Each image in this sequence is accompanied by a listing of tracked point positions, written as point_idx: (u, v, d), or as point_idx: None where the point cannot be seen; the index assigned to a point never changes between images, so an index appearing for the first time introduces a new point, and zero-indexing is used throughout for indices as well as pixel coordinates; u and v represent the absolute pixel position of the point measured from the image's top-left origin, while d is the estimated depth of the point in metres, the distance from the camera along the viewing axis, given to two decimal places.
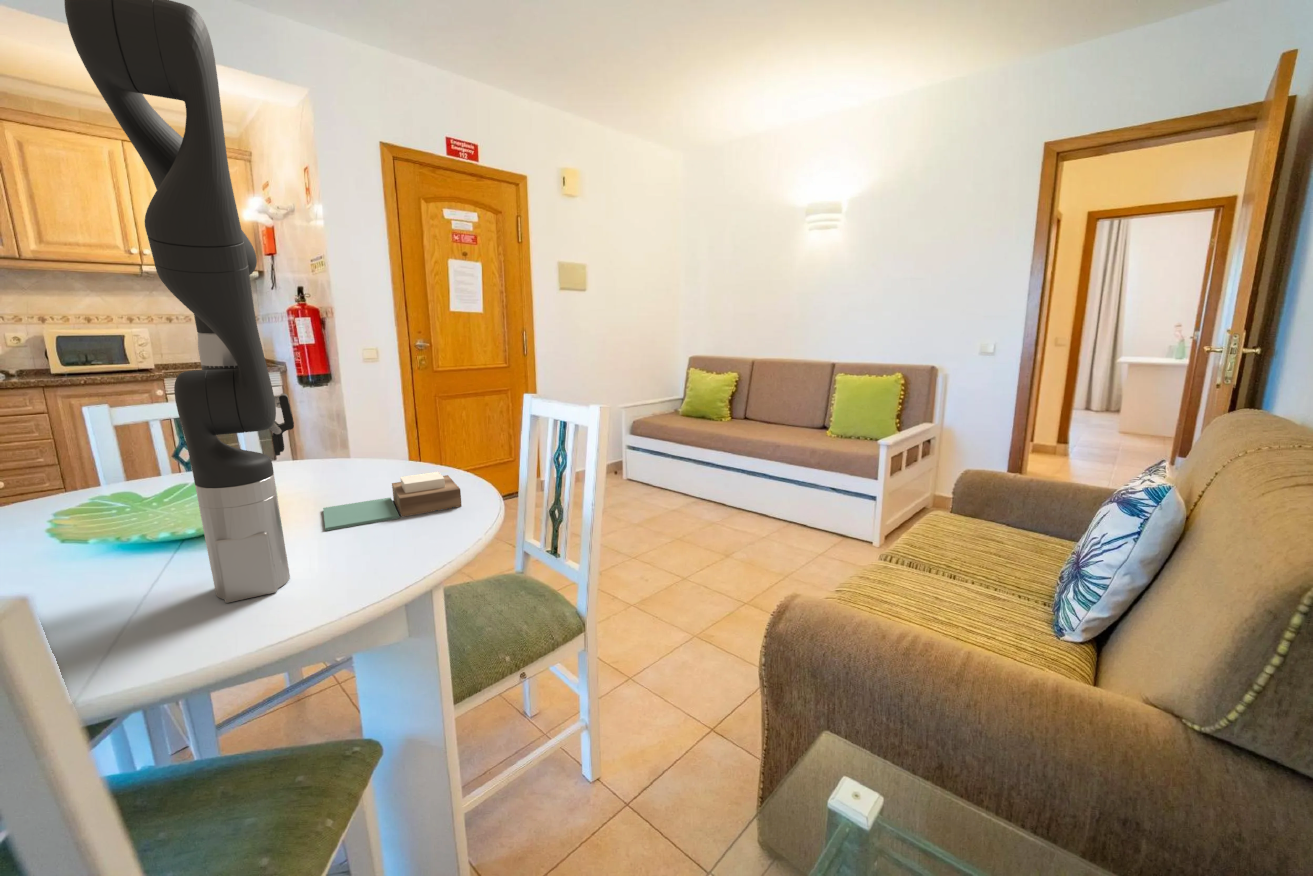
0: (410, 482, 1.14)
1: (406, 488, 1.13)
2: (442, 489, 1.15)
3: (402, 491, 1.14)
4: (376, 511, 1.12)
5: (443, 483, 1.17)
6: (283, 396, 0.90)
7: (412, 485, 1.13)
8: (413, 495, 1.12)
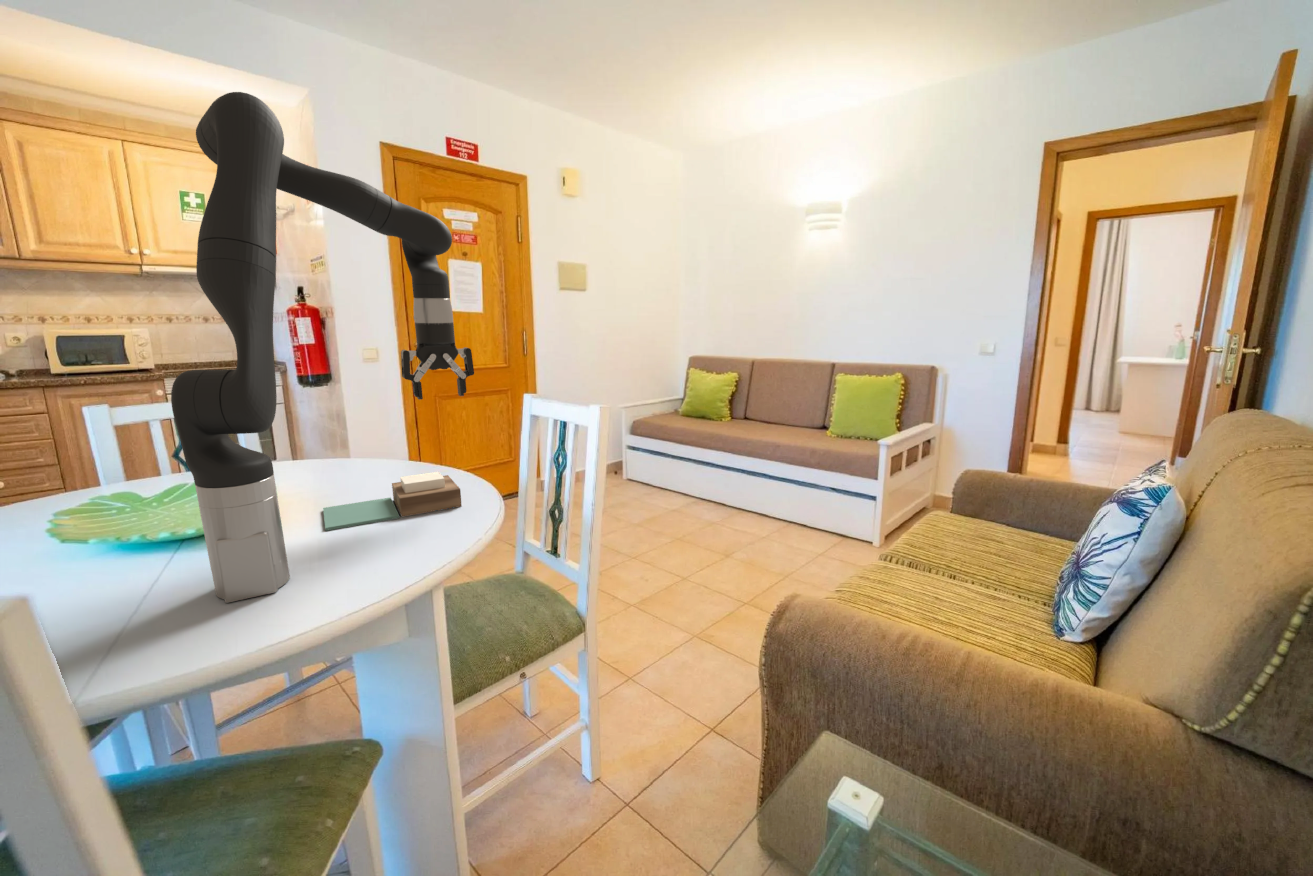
0: (410, 482, 1.14)
1: (406, 488, 1.13)
2: (442, 489, 1.15)
3: (402, 491, 1.14)
4: (376, 511, 1.12)
5: (443, 483, 1.17)
6: (468, 348, 1.16)
7: (412, 485, 1.13)
8: (413, 495, 1.12)
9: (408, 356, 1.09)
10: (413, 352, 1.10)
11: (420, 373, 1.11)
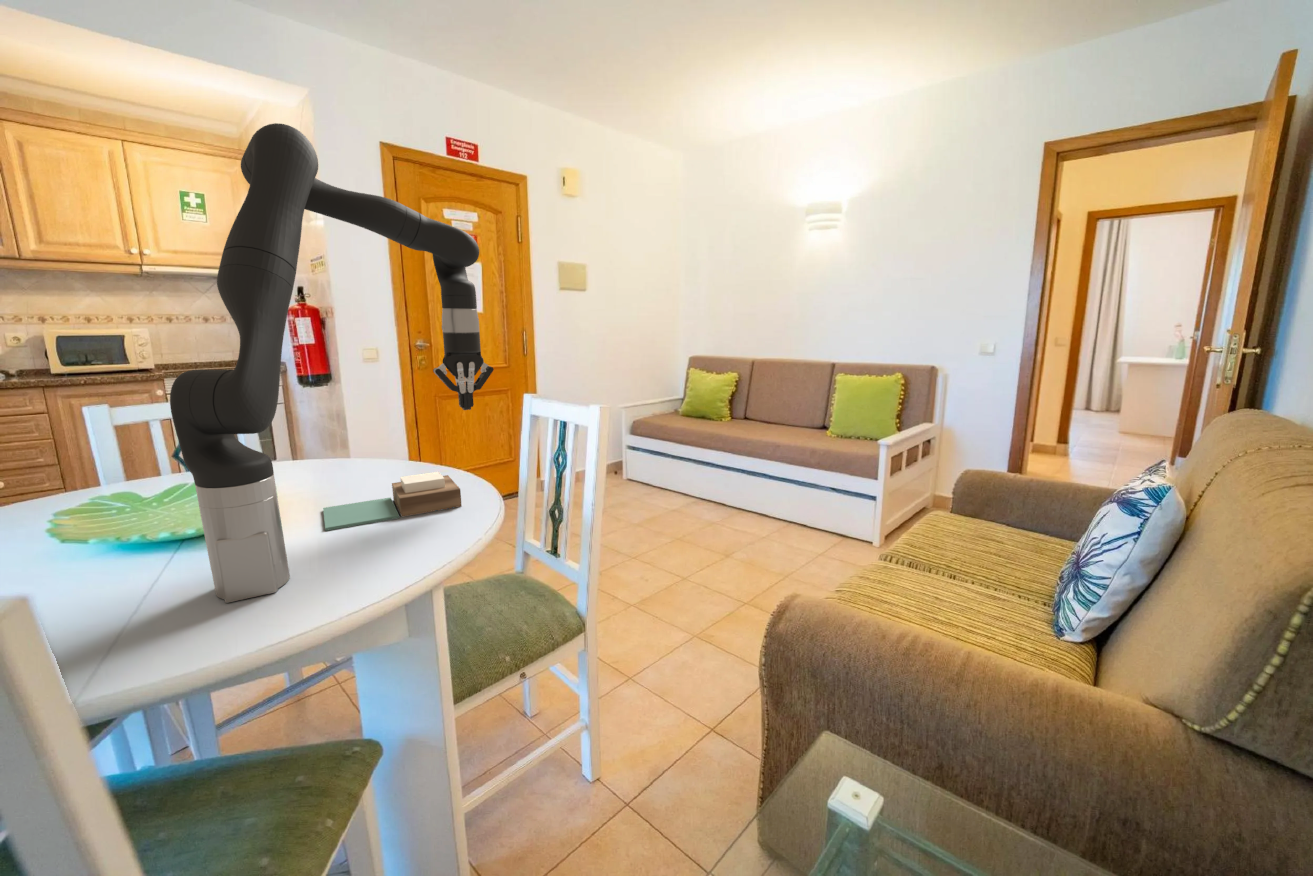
0: (410, 482, 1.14)
1: (406, 488, 1.13)
2: (442, 489, 1.15)
3: (402, 491, 1.14)
4: (376, 511, 1.12)
5: (443, 483, 1.17)
6: (492, 368, 1.19)
7: (412, 485, 1.13)
8: (413, 495, 1.12)
9: (441, 372, 1.14)
10: (442, 366, 1.14)
11: (461, 384, 1.17)
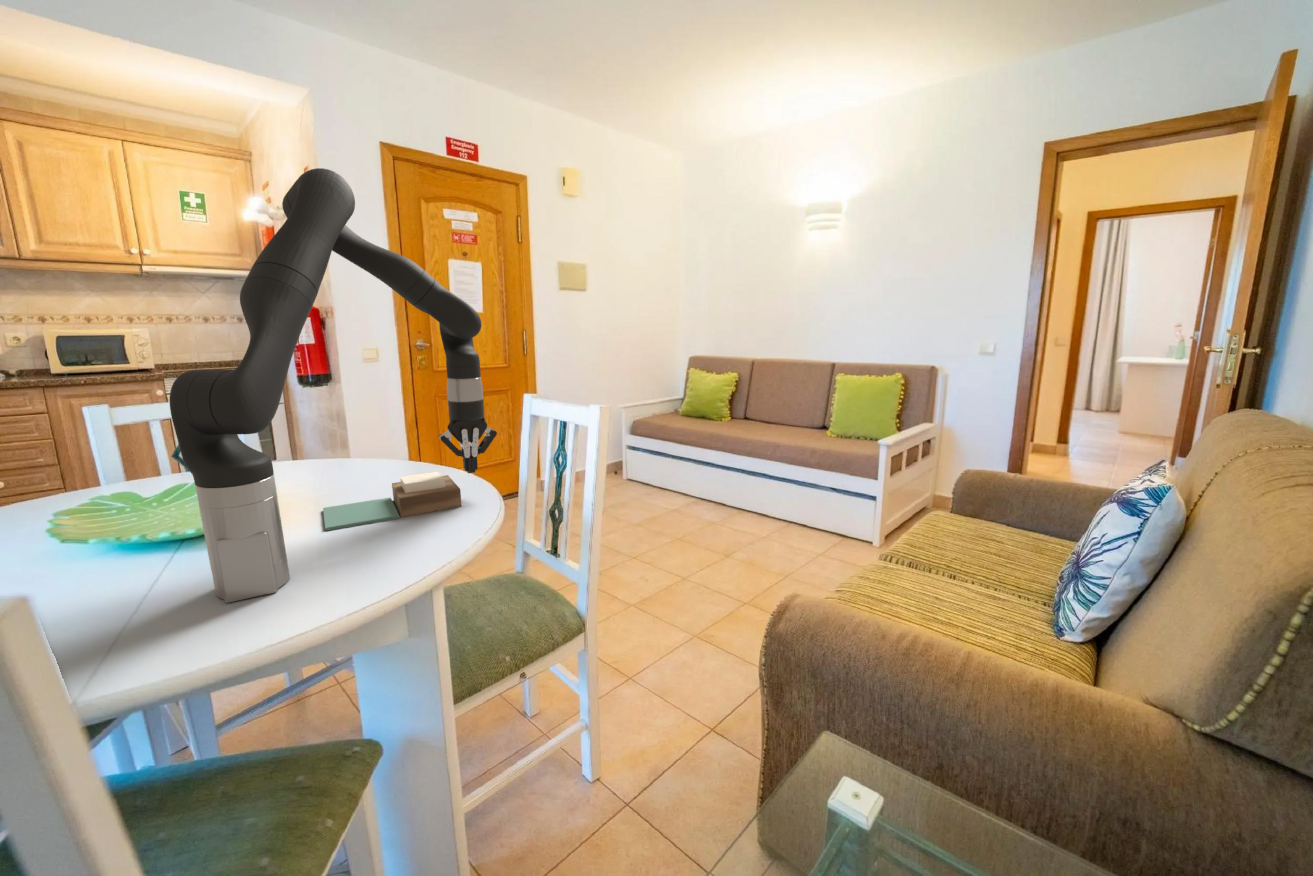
0: (410, 482, 1.14)
1: (406, 488, 1.13)
2: (442, 489, 1.15)
3: (402, 491, 1.14)
4: (376, 511, 1.12)
5: (443, 483, 1.17)
6: (495, 432, 1.23)
7: (412, 485, 1.13)
8: (413, 495, 1.12)
9: (447, 439, 1.17)
10: (447, 433, 1.18)
11: (466, 449, 1.20)
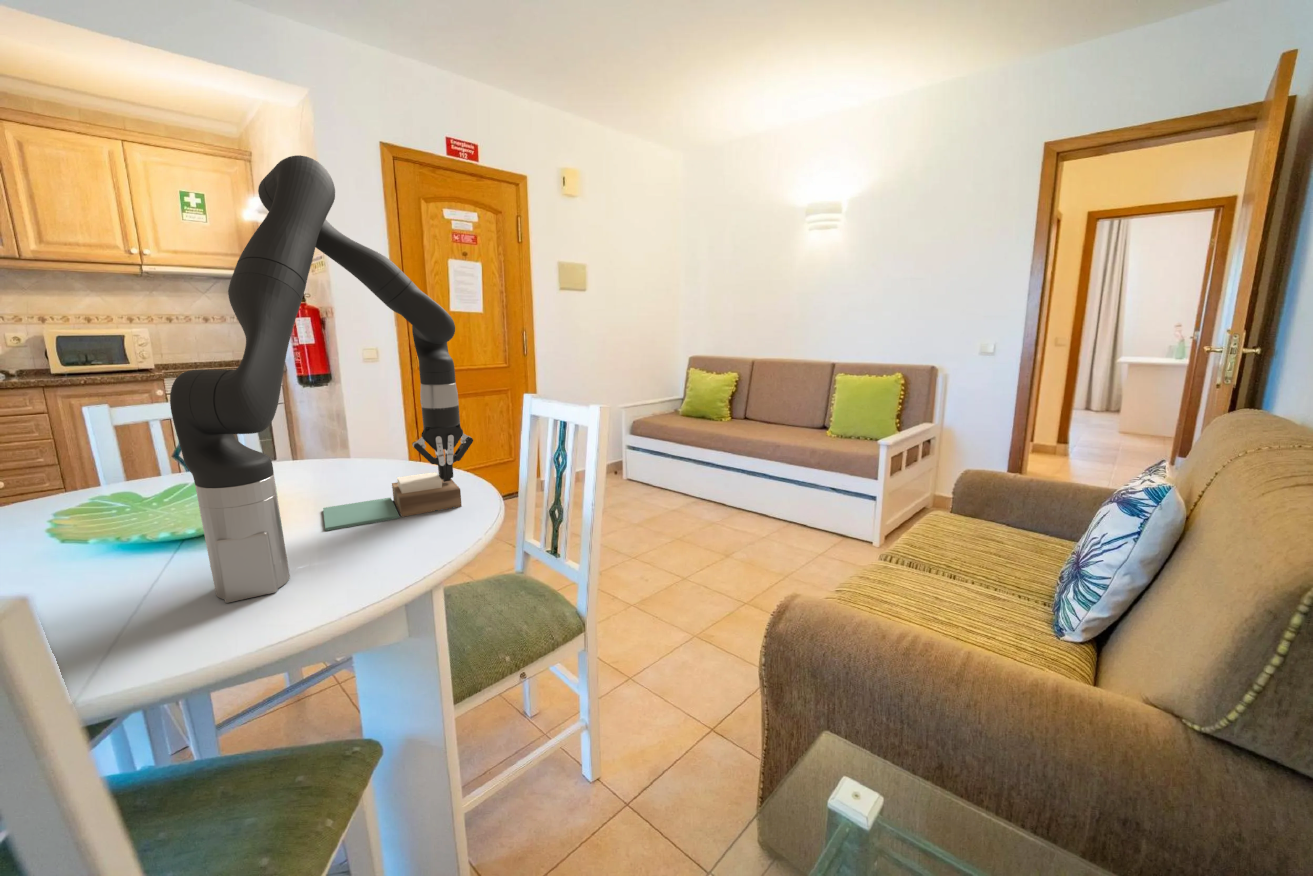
0: (407, 482, 1.13)
1: (403, 488, 1.12)
2: (442, 489, 1.15)
3: None
4: (376, 511, 1.12)
5: (440, 483, 1.16)
6: (471, 439, 1.20)
7: (408, 485, 1.13)
8: (413, 495, 1.12)
9: (420, 447, 1.14)
10: (421, 440, 1.15)
11: (440, 457, 1.17)
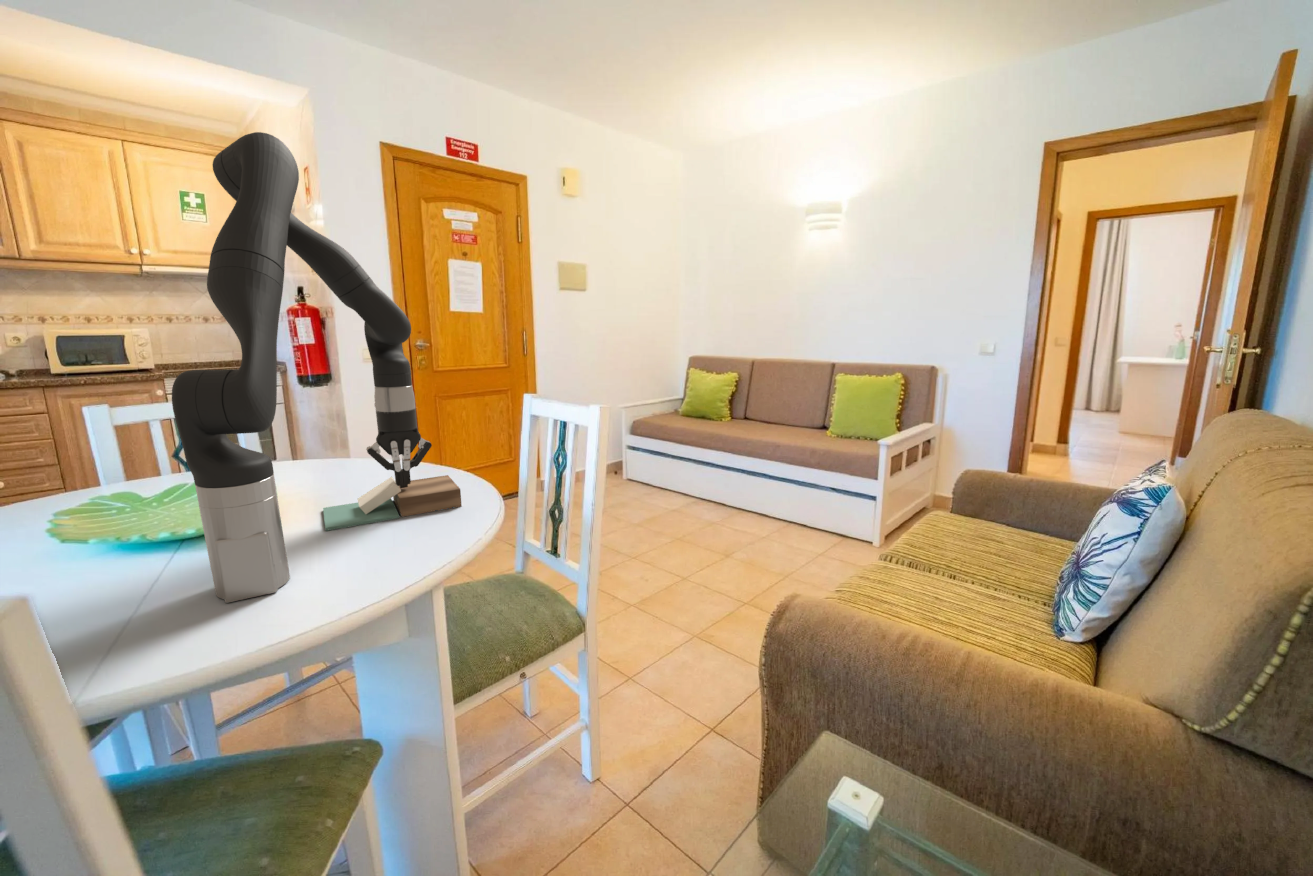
0: (365, 502, 1.10)
1: (364, 510, 1.10)
2: (442, 489, 1.15)
3: (402, 491, 1.14)
4: (376, 511, 1.12)
5: (397, 488, 1.12)
6: (430, 443, 1.15)
7: (367, 504, 1.10)
8: (413, 495, 1.12)
9: (374, 452, 1.10)
10: (375, 445, 1.10)
11: (396, 462, 1.12)
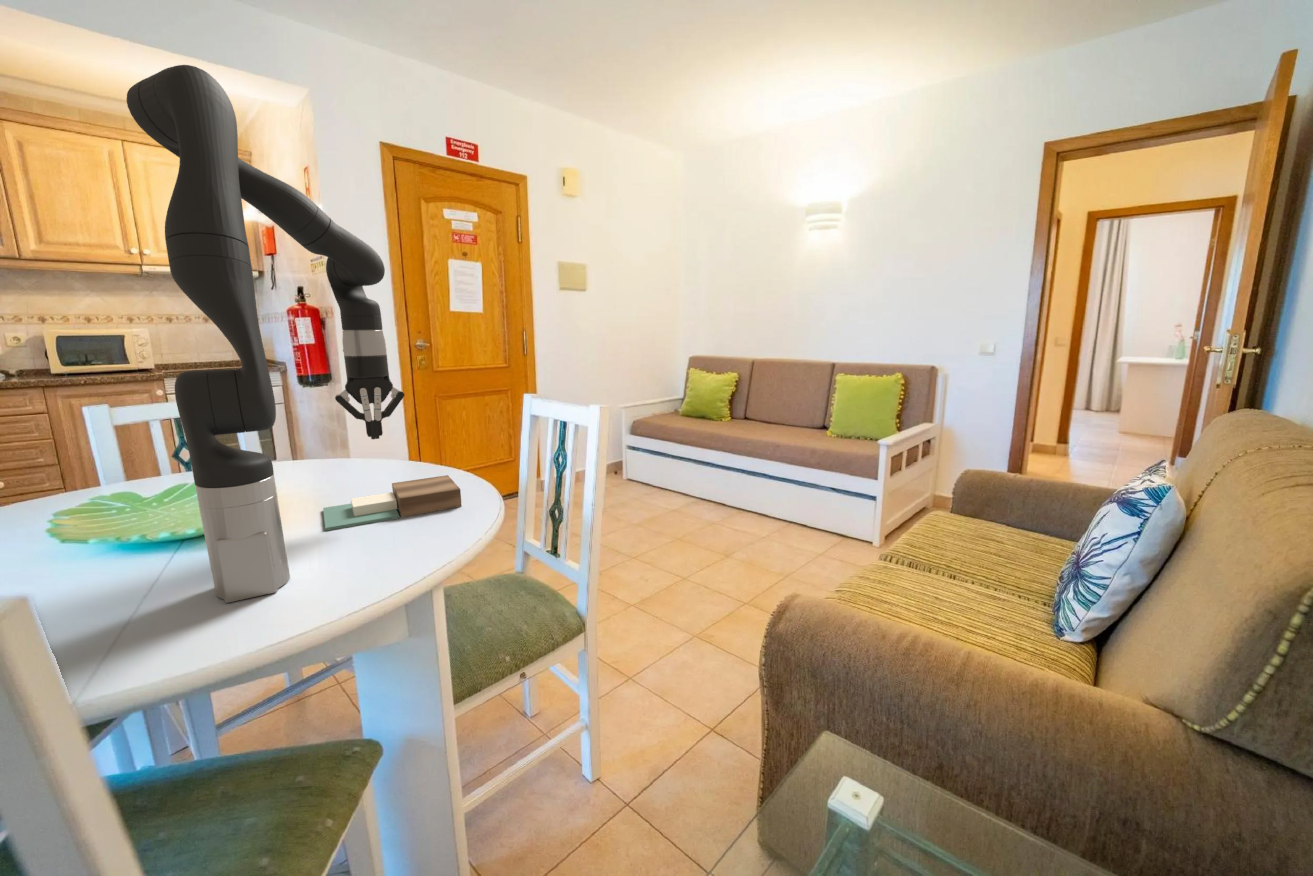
0: (360, 504, 1.10)
1: (355, 511, 1.09)
2: (442, 489, 1.15)
3: (402, 491, 1.14)
4: None
5: (395, 505, 1.13)
6: (402, 393, 1.10)
7: (361, 507, 1.09)
8: (413, 495, 1.12)
9: (343, 399, 1.05)
10: (344, 392, 1.05)
11: (367, 411, 1.07)
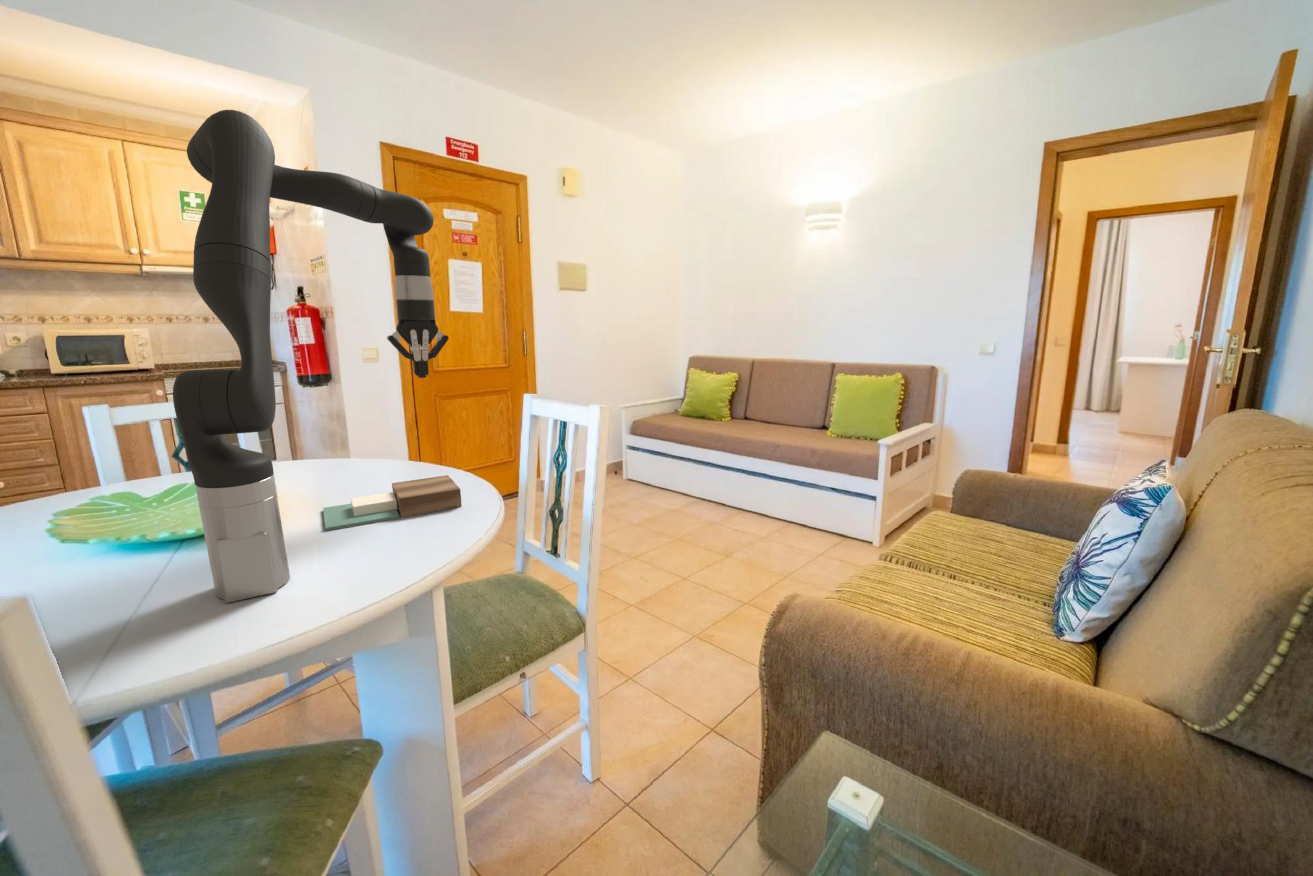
0: (360, 504, 1.10)
1: (355, 511, 1.09)
2: (442, 489, 1.15)
3: (402, 491, 1.14)
4: None
5: (395, 505, 1.13)
6: (447, 336, 1.21)
7: (361, 507, 1.09)
8: (413, 495, 1.12)
9: (395, 339, 1.15)
10: (396, 333, 1.15)
11: (415, 352, 1.18)
